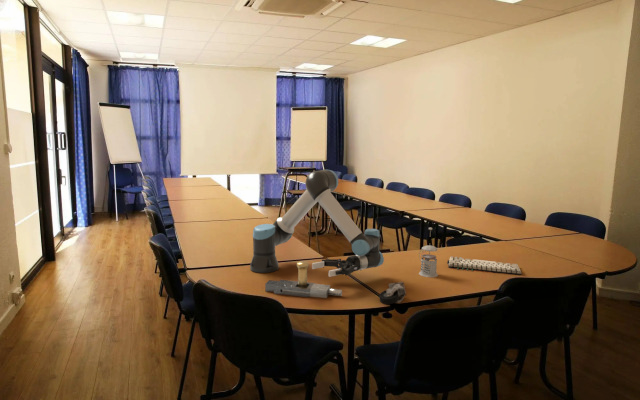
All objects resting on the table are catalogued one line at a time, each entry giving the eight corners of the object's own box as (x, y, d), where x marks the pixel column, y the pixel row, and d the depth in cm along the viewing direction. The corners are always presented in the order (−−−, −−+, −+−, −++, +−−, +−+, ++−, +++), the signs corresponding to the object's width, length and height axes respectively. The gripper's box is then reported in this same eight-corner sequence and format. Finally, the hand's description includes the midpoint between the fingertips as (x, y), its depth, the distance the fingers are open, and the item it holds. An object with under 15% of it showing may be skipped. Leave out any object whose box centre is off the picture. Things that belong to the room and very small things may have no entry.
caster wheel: (381, 310, 175) (380, 297, 185) (407, 306, 173) (406, 294, 182) (378, 296, 173) (378, 284, 183) (405, 292, 171) (403, 281, 181)
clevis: (263, 292, 187) (263, 285, 186) (270, 286, 196) (270, 278, 195) (339, 300, 179) (339, 292, 178) (343, 293, 187) (343, 285, 187)
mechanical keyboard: (517, 267, 231) (518, 261, 231) (522, 277, 214) (523, 271, 213) (447, 260, 243) (447, 255, 243) (446, 270, 225) (447, 264, 225)
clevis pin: (294, 294, 185) (294, 264, 183) (298, 290, 191) (298, 260, 189) (306, 295, 184) (307, 265, 182) (310, 291, 189) (310, 261, 187)
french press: (427, 278, 209) (429, 229, 205) (412, 271, 219) (414, 225, 216) (442, 275, 213) (444, 228, 210) (426, 269, 224) (428, 224, 220)
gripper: (372, 277, 193) (336, 285, 182) (341, 264, 214) (306, 270, 202) (373, 261, 192) (336, 269, 181) (341, 249, 213) (306, 255, 201)
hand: (320, 269), depth 191 cm, fingers open, 13 cm apart
